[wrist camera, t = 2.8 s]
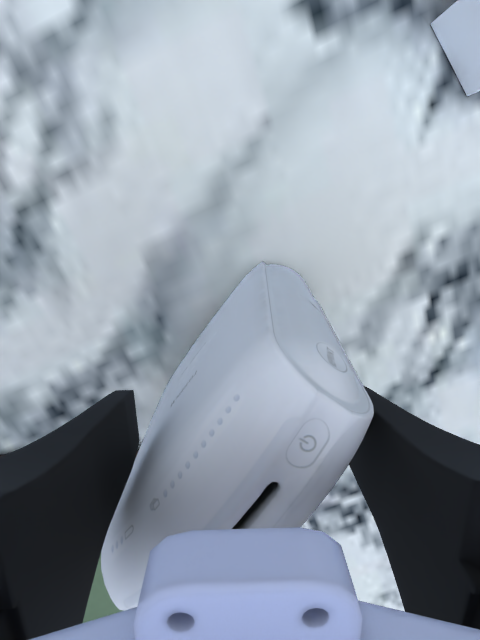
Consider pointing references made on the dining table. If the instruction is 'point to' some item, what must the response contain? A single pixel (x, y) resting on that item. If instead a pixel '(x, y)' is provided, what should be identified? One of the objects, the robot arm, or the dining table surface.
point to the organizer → (462, 41)
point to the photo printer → (241, 428)
